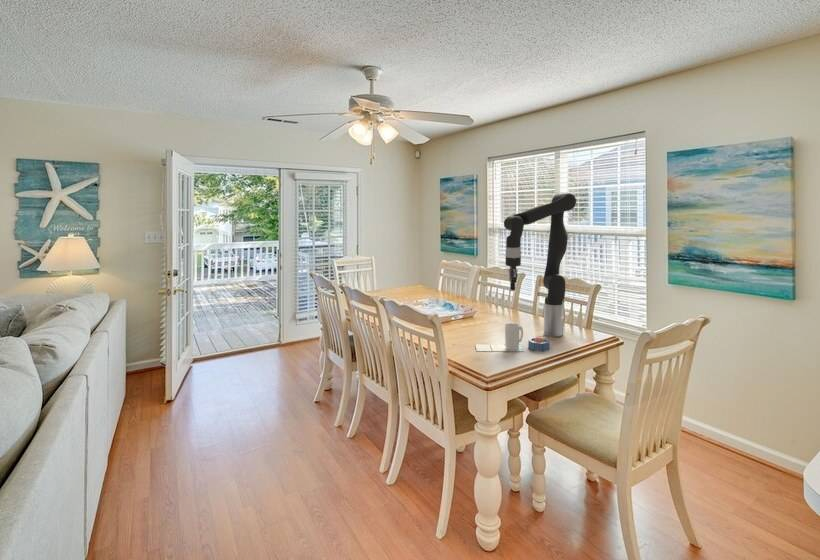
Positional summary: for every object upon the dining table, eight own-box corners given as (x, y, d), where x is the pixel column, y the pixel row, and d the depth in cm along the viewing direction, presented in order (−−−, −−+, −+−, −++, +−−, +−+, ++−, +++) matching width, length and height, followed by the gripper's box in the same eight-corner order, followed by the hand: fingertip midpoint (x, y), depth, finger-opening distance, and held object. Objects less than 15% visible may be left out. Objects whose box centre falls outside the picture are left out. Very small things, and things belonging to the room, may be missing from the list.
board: (519, 344, 214) (519, 344, 214) (523, 351, 204) (523, 351, 203) (474, 344, 216) (474, 344, 216) (476, 351, 205) (476, 351, 205)
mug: (510, 351, 203) (511, 327, 201) (502, 347, 209) (502, 324, 207) (527, 348, 207) (527, 324, 206) (518, 344, 213) (518, 321, 212)
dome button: (539, 344, 212) (539, 334, 211) (547, 347, 207) (548, 337, 206) (529, 346, 210) (530, 336, 209) (538, 349, 204) (538, 339, 203)
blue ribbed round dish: (539, 343, 215) (539, 336, 214) (553, 349, 206) (553, 341, 205) (524, 346, 210) (524, 339, 210) (538, 352, 202) (538, 344, 201)
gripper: (503, 255, 220) (503, 287, 223) (507, 257, 207) (507, 292, 210) (518, 254, 219) (517, 287, 222) (523, 257, 206) (522, 292, 209)
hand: (512, 290), depth 216 cm, fingers closed
